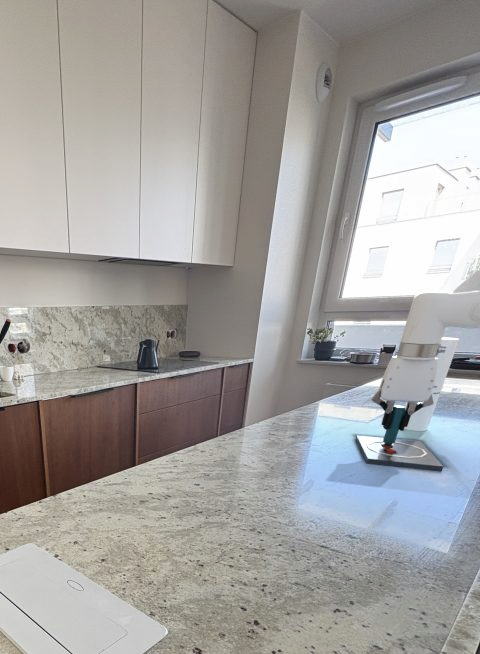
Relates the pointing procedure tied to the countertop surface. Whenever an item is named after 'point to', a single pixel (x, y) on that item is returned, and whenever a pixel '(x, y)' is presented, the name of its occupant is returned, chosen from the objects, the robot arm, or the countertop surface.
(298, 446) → the countertop surface
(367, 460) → the slate board
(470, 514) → the countertop surface
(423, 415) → the cylindrical container
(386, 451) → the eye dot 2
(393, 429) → the marker
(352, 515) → the countertop surface
